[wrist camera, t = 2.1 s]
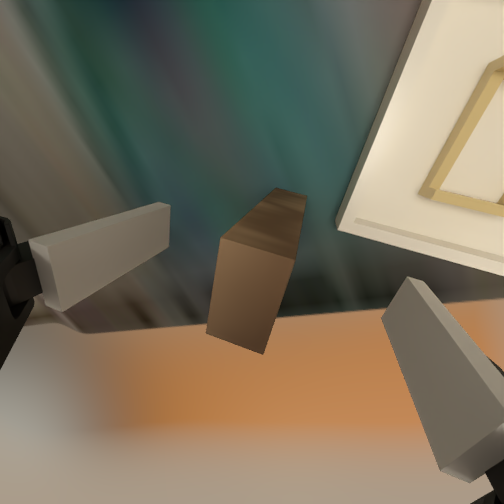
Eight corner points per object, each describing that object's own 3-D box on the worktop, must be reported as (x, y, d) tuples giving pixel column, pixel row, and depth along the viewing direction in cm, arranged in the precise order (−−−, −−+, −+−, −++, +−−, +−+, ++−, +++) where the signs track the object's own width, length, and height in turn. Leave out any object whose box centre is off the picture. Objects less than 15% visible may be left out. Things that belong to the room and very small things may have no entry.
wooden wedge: (263, 238, 20) (205, 333, 10) (275, 187, 18) (220, 237, 8) (291, 246, 20) (263, 354, 9) (307, 195, 18) (295, 260, 7)
